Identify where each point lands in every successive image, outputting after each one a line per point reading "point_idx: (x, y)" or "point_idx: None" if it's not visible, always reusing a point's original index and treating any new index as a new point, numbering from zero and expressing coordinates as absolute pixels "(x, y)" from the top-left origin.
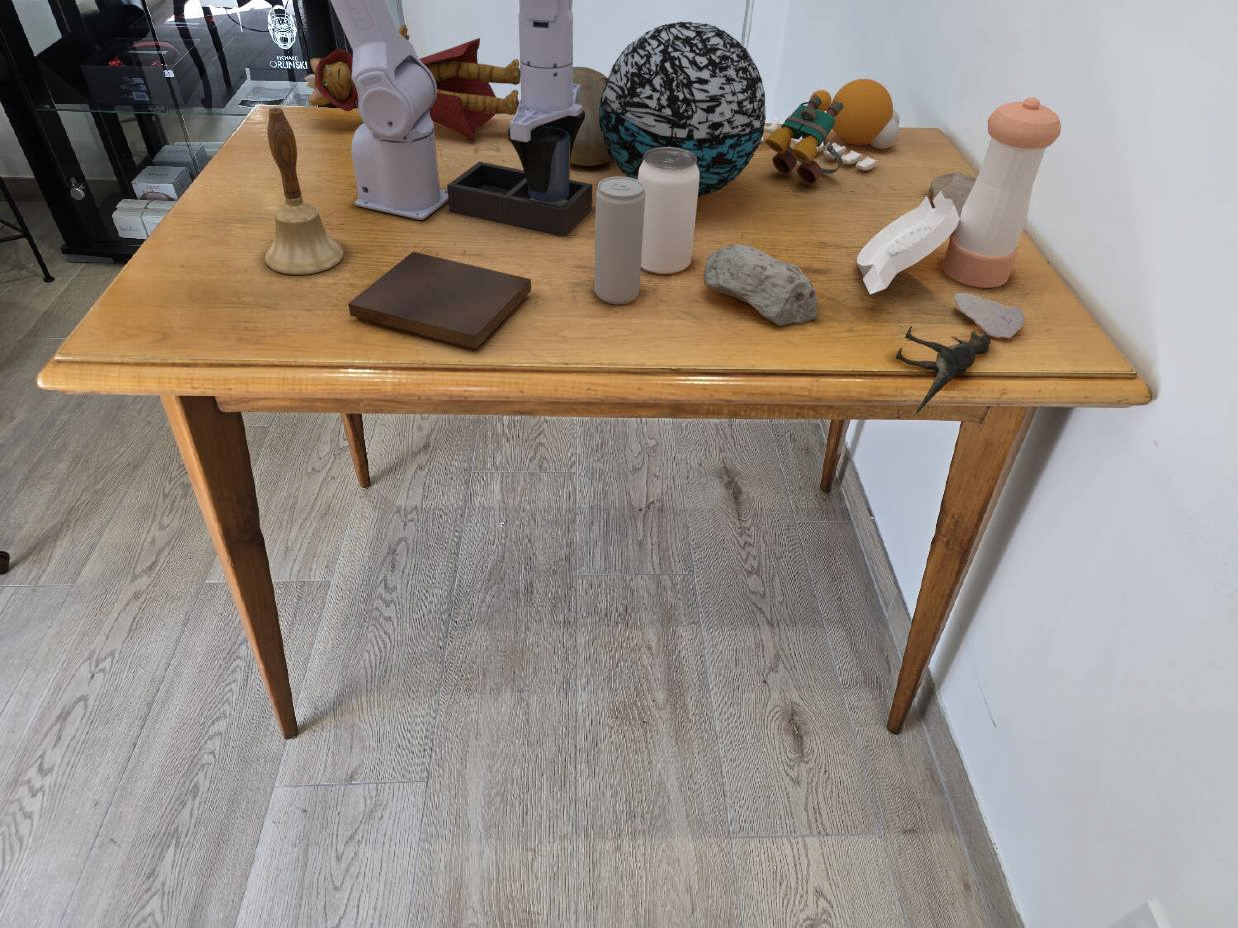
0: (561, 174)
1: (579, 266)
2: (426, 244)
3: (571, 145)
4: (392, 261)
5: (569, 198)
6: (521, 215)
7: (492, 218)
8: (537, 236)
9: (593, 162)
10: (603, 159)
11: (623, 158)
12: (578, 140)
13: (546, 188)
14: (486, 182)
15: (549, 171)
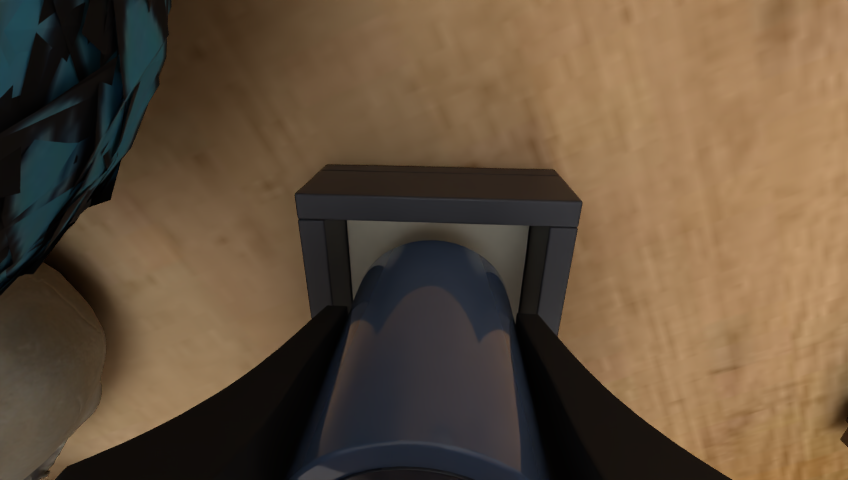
0: (478, 311)
1: (773, 32)
2: (692, 446)
3: (277, 379)
4: (792, 470)
5: (345, 247)
6: None
7: None
8: (575, 247)
9: (51, 276)
10: None
11: (153, 53)
12: (23, 365)
13: (542, 321)
14: None
15: (556, 364)
